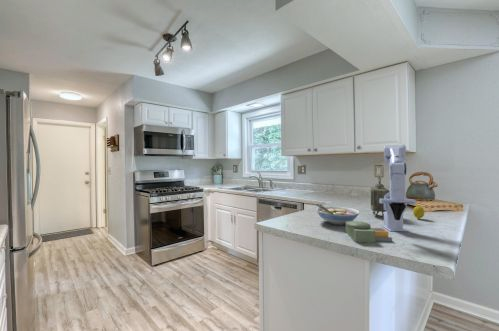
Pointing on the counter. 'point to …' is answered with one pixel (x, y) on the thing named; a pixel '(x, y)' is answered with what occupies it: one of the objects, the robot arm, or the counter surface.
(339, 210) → the ramen bowl
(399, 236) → the counter surface
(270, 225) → the counter surface
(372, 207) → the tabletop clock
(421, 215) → the lemon
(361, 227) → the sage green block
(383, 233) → the orange square frame
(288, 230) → the counter surface
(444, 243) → the counter surface
